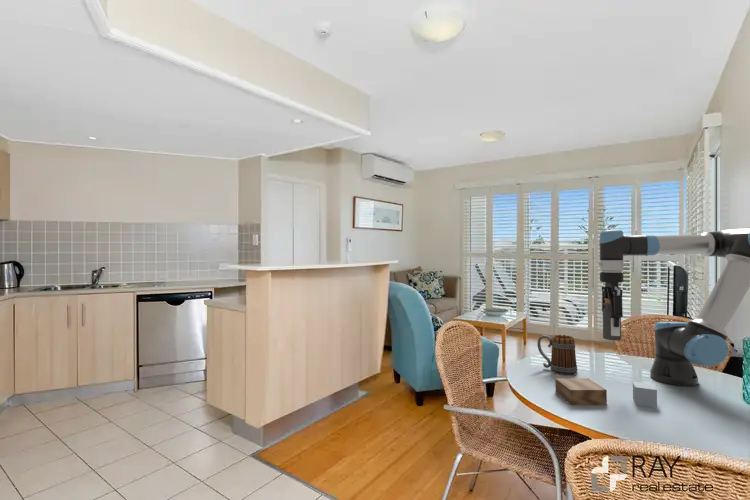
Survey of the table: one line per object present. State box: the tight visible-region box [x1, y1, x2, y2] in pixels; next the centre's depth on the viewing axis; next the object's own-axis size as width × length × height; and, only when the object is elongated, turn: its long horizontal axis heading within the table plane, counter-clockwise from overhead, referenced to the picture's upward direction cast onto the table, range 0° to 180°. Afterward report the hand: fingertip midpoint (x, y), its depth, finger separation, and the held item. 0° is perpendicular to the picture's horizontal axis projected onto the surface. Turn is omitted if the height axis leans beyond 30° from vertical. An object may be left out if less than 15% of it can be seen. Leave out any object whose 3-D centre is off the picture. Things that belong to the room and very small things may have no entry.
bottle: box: [602, 298, 622, 341], centre depth 146 cm, size 6×6×15 cm
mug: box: [536, 334, 578, 376], centre depth 169 cm, size 16×11×15 cm
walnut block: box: [554, 377, 608, 406], centre depth 138 cm, size 12×12×5 cm
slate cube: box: [632, 381, 658, 409], centre depth 133 cm, size 6×6×6 cm
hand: (612, 333), depth 146 cm, fingers closed on bottle, 6 cm apart
